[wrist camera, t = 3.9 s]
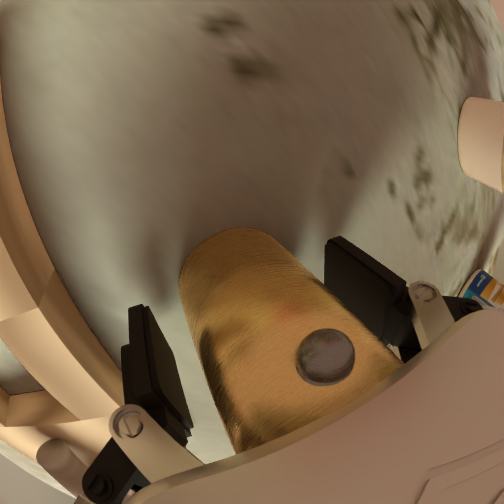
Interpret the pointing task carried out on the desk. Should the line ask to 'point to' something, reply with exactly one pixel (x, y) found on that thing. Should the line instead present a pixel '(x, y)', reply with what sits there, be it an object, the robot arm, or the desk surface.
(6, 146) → the shaft jig
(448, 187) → the desk surface
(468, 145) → the striped cup with float
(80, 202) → the desk surface
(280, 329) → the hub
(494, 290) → the blue supplement bottle
